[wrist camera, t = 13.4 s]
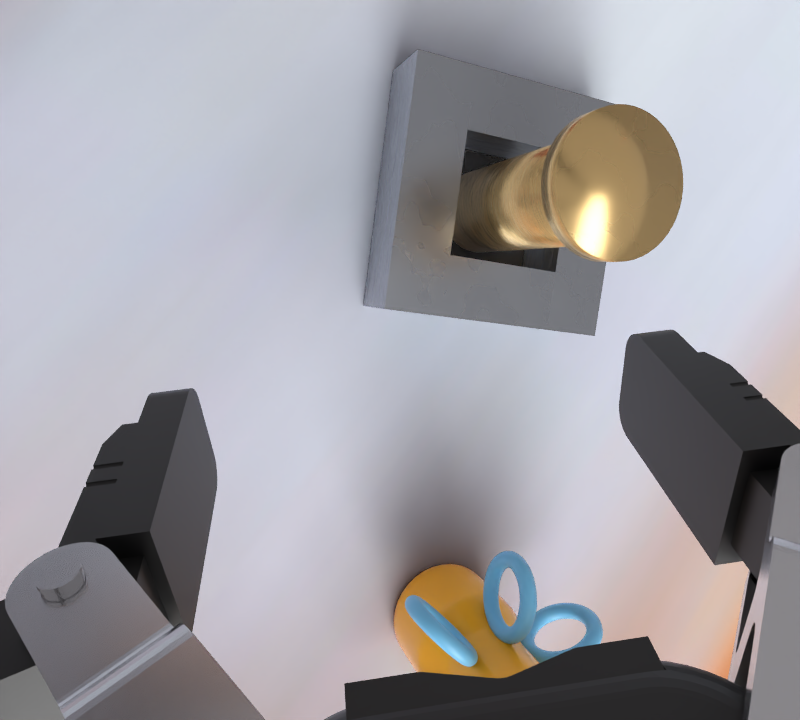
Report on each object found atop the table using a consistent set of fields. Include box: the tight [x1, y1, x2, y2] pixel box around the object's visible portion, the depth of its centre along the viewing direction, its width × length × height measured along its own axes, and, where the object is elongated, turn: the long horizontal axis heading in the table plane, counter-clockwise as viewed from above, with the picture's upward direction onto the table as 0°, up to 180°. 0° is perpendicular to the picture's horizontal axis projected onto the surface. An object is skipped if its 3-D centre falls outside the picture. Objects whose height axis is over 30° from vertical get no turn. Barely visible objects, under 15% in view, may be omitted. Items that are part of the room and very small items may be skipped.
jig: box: [363, 49, 616, 336], centre depth 35 cm, size 12×12×4 cm
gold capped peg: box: [453, 104, 683, 262], centre depth 31 cm, size 6×6×12 cm
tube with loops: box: [394, 551, 603, 678], centre depth 32 cm, size 12×10×15 cm
